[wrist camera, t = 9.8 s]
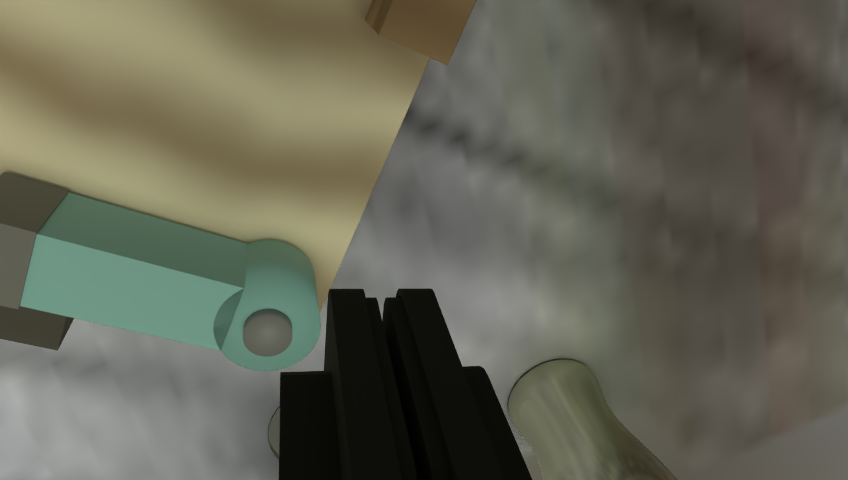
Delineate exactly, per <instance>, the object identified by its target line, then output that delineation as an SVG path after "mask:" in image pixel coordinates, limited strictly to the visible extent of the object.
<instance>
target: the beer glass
mask: <svg viewBox="0 0 848 480" xmlns="http://www.w3.org/2000/svg"><path fill="white" fill-rule="evenodd" d="M508 412H509V416H510V419H511V421H512V423H513V424H514V426H515V427H516V429H517V430H518V431H519V432H520V434H521V435H522V436H523V437H524V439H525V440H526V441H527V442H528V444H529V445H530V447H531V448H532V450H533V452H534V454H535V456H536V458H537V460H538V463H539V465H540V469H541V472H542V476H543V479H544V480H678V479H677V478H676V477H675V476H674V475H673V474H672V473H671V472H670V470H669V469H668V468H667V467H666V466H665V465H664V464H663V463H662V462H661V461H660V460H659V459H658V458H657V457H656V456H655V455H654V454H653V453H652V452H651V451H650V450H649V449H648V448H646V446H645V445H644V444H643V443H642V442H641V441H639V440H638V439H637V438H636V437H635V436H634V435H633V434H632V433H631V432H630V431H629V430H628V429H627V428H626V427H625V426H624V425H623V424H622V423H621V422H620V421H619V420H618V418H617V417H616V416H615V415H614V413H613V412H612V410H611V409H610V407H609V406H608V404H607V402H606V400H605V397H604V395H603V392H602V390H601V387H600V385H599V382H598V380H597V378H596V376H595V375H594V373H593V372H592V370H591V369H590V368H588V367H587V366H586V365H584V364H583V363H580V362H578V361H574V360H568V359H560V360H553V361H549V362H546V363H543V364H541V365H538V366H537V367H535V368H533V369H531V370H530V371H529V372H527V373H526V374H525V375H524V376H523V377H522V378H521V379H520V380H519V381H518V382H517V383H516V385H515V386H514V388H513V390H512V392H511V394H510V397H509V401H508Z"/></svg>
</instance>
